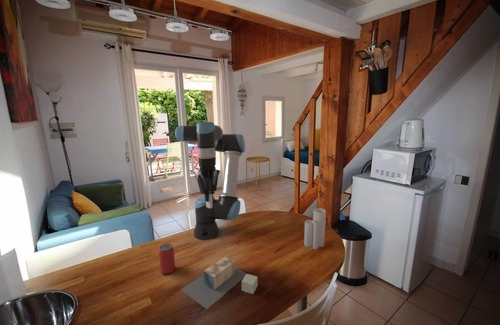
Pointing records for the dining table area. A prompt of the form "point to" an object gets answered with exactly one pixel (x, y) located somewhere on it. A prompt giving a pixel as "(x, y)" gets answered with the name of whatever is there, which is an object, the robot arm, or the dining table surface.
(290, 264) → the dining table surface
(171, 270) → the beer can
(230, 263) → the beech block
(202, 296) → the rubber mat
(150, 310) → the dining table surface
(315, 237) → the vase
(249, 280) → the sage cube
